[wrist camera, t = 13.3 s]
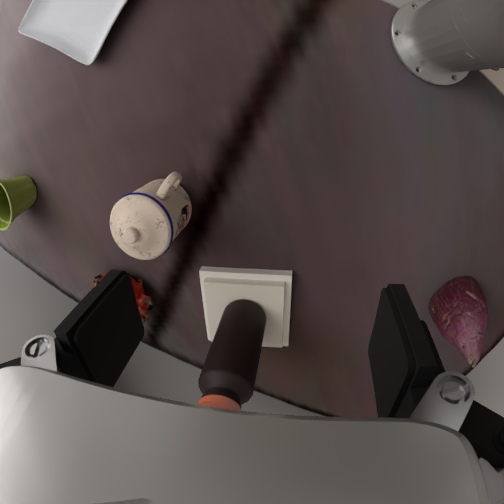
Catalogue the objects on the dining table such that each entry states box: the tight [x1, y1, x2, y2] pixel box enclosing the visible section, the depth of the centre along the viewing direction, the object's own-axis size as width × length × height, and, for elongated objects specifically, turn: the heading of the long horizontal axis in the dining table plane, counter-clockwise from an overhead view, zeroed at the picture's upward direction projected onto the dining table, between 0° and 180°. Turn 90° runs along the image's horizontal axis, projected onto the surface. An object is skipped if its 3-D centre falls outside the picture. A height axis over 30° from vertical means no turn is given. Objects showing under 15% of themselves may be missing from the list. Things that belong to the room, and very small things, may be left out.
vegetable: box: [429, 276, 488, 367], centre depth 41 cm, size 10×10×15 cm
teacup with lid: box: [110, 172, 192, 260], centre depth 40 cm, size 12×9×12 cm
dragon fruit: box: [94, 274, 153, 323], centre depth 51 cm, size 8×8×12 cm
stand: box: [199, 266, 292, 348], centre depth 51 cm, size 14×14×3 cm
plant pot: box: [0, 175, 37, 230], centre depth 45 cm, size 9×9×9 cm
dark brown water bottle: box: [198, 299, 267, 411], centre depth 40 cm, size 7×7×20 cm
